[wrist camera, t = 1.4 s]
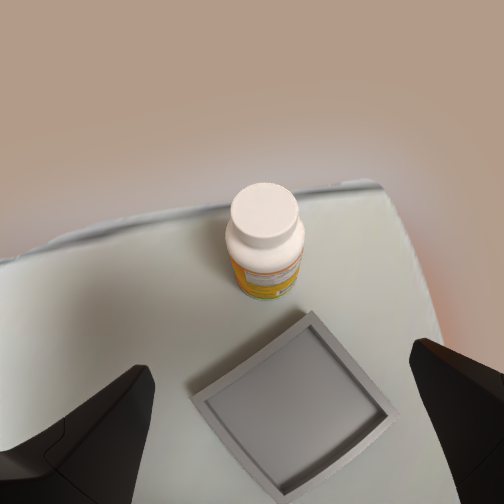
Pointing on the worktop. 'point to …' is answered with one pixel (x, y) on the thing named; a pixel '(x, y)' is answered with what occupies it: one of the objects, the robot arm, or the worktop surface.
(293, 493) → the charcoal tray
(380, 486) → the worktop surface
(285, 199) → the supplement bottle
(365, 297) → the worktop surface
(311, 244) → the worktop surface
